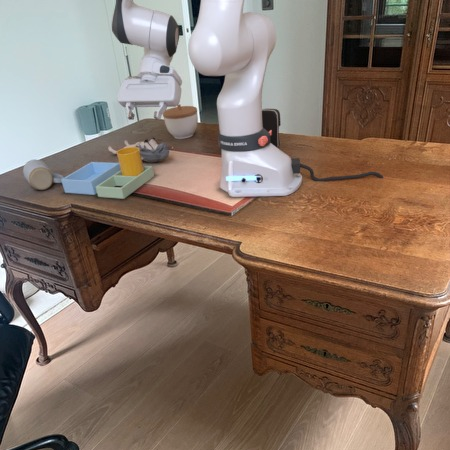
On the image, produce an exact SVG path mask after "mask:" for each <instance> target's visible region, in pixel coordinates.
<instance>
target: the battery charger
mask: <svg viewBox="0 0 450 450" xmlns="http://www.w3.org/2000/svg"><path fill="white" fill-rule="evenodd" d="M281 123H282V122H281V113H280V110H278V109H276V108H262V125H263V128H264V129H265V130H267V131H268V132H269V131H270V130H272V132H271V133H272V135H271V136H270V143H271V144H273V145H274V146H275V147H277V148H278V147H279V146H280V145H281V143H280V126H281Z"/></svg>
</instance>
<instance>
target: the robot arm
mask: <svg viewBox="0 0 450 450" xmlns="http://www.w3.org/2000/svg"><path fill="white" fill-rule="evenodd" d="M244 4H245V0H200V4H199V11H198V12H199V13H198V17H197V22H196V24H195V26H194V29H193V31H192V32H191V34H190V36H189V38H188V45H187V46H188V47H187V49H188V50H187V51H188V56H189V60H190V62H191V64H192V66H193V68H194V69H195V70H196V71H197V73H199V74H200V75H202V76H208V77H222V76H224V81H223V85H222V88H221V90H220V92H219V93H218V95H217V99H216V110H217V111H216V112H217V120H218V129H219V132H218V147H219V153H220V154H221V168H220V169H221V170H220V171H221V172H220V180H219V185H218V186H219V188H220V189H221V190H222V191H224V192H226V193H227V194H228V196H229V197H232V198H244V197H246V198H247V197H250V198H251V197H288V196H289V195H291V194H293V193H295V192H296V191H297V190H298V189H300V187H301V186H302V183H303V175H302V174H301V169H305V170H307V171H308V172H309V175H310V178H311V179H312V180H313V181H314V182H329V181H342V180H353V179H361V178H366V177H369V176H376V177H377V178H379V179H384V176H383V175H382V174H381V173H379V172H377V171H368V172H364V173H359V174H351V175H350V174H349V175H339V176H338V175H337V176H329V177H323V178H319V177H316V176H315V173H314V170H313V169H312V167H311V166H309V165H306V164H303V163H301V159H300V157H295V158H294V157H293V158H292V157H291V156H289V155H288V154H286V153H285V152H284V151H282V150H281V149H279V148H278V147H275V146H274V145H273V144H271V143H270V136H271V135H272V133H271V132H272V130H270V131H269V132H268V131H267V130H265V129H264V128H263V125H262V110H263V103H262V102H263V100H262V97H263V87H264V81H265V76H266V72H267V71H266V70H267V67H268V63H269V59H270V57H271V54H273V52H274V49H275V47H276V43H277V31H276V27H275V24H274V23H273V21H272V20H271V18H270V17H268V16H267V15H265V14H262V13H257V12H252V11H247V12H244ZM110 26H111V31H112V33H113V35H114V36H115V38H116V39H117V40H118V42H119V43H121V44H125V45H130V46H136V47H141V48H143V56H142V57H141V60H140V64H139V67H138V72H137V75H134V76H131V75H130V76H128V77H126V78H125V79H123V80H122V83H121V85H120V87H119V89H118V92H117V96H116V100H117V102H118V104H120V105H121V106H122V107H123V108H126V112H127V113H126V118H127V119H128V120H131V121H132V120H133V121H134V120H135V116H136V114H135V113H134V112H133V110H134V108H158V109H157V110H155V111H154V113H153V118H154V120H157V121H160V120H161V119H162V117H163V113H164V112H165V111H166V110H168V108H175V107H177V105H179V104H180V103H181V97H182V84H183V79H182V78H181V76H180V75H179V73H178V72H177V70H175V68H174V67H173V66H171V65H170V64H171V62H172V61H173V58H174V55H175V54H176V53H177V49H178V45H179V42H180V41H179V40H180V26H179V24H178V22H177V21H176V19H175V17H174V16H173V15H171V14H170V13H167V12H163V11H160V10H154V9H151V8H149V7H148V8H147V7H144V6H140V5H138V4H137V3H135V2H134V0H115V4H114V9H113V12H112V15H111V25H110Z"/></svg>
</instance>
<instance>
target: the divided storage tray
mask: <svg viewBox="0 0 450 450" xmlns="http://www.w3.org/2000/svg"><path fill="white" fill-rule="evenodd" d="M143 168H144V172H142V173H141V174H139V175H138V176H122V174H121V170H120V171H119V172H117V173H116V174H114V175H113V176H111V177H110V178H108V179H107V180H105V181H103V182H102V183H100V184H99V185H97V186H96V191H97V194H96V195H97V197H98V198H107V199H108V198H109V199H121V200H124V199H126V198H127V197H129V196H130V195H131V194H132V193H134V192H135V191H137V190H138V189H139V188H141V187H142V186H143V185H144V184H146V183H147V182H148V181H150V180H151V179H152V178H153V177H155V176H156V175H155V171H154V167H153V166H152V165H143Z"/></svg>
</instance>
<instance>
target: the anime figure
mask: <svg viewBox="0 0 450 450" xmlns="http://www.w3.org/2000/svg"><path fill="white" fill-rule="evenodd" d="M124 145H125V146H124V147H123V148H127V147H138V148H139V149H140V154H141V159H142V162H146V163H152V164H153V163H156V162H157V163H158V162H160V161H164V160H166V159H167V158H169V156H170V148H169V146H168V144H167V142H166V141H165V142H164V141H163V142H161V143H159V142H158V141H157V140H156V138H155V137H152V138H150V140H149V138H147V139H145V140H144V141H138V142H136V143H133V144H130V143H129V142H128V140H126V139H125V140H124ZM107 150H108V152H110V153H111V154H112V155H113V156H116V155H117V154H116V152H117V151H118V150H115V149H113V147H112V146H111V145H109V146H108V147H107Z"/></svg>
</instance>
